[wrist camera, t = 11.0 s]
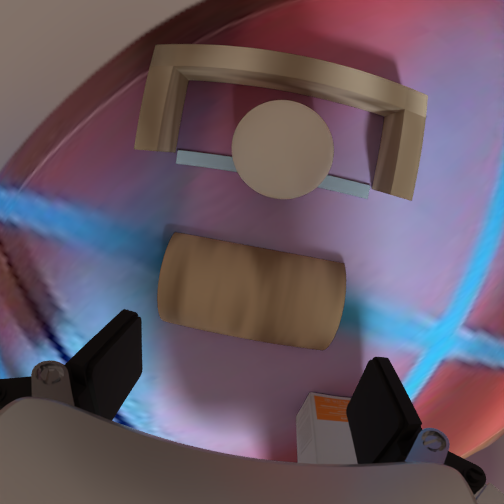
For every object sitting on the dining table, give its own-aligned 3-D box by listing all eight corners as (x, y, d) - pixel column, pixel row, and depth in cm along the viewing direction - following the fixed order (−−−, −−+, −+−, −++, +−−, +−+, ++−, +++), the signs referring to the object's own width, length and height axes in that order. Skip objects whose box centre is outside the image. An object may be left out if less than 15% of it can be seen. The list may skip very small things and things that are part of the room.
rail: (405, 104, 17) (427, 95, 14) (390, 194, 19) (411, 200, 16) (173, 60, 17) (155, 44, 14) (155, 150, 20) (134, 149, 16)
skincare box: (362, 396, 25) (389, 492, 14) (344, 422, 26) (362, 512, 15) (308, 389, 25) (319, 497, 14) (293, 416, 26) (296, 514, 15)
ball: (327, 224, 15) (314, 192, 20) (355, 114, 12) (333, 112, 17) (215, 202, 15) (232, 176, 20) (232, 88, 12) (246, 94, 17)
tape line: (369, 185, 19) (370, 185, 19) (366, 198, 20) (367, 199, 19) (178, 150, 19) (177, 149, 19) (176, 163, 20) (175, 163, 20)
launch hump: (332, 244, 26) (354, 277, 18) (311, 319, 28) (321, 370, 21) (192, 218, 26) (160, 241, 18) (184, 295, 28) (156, 339, 21)
